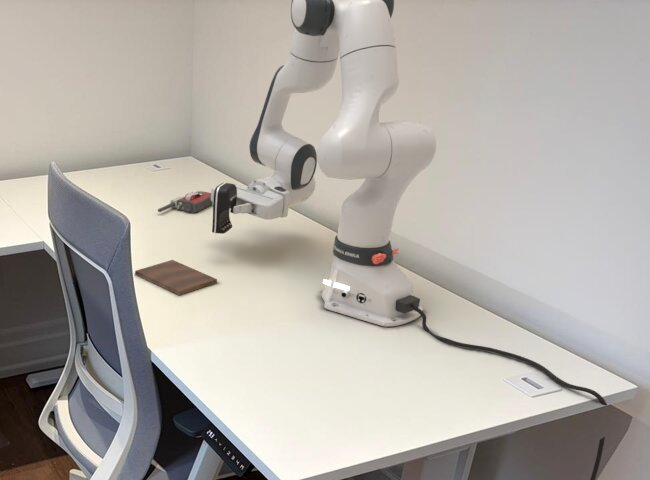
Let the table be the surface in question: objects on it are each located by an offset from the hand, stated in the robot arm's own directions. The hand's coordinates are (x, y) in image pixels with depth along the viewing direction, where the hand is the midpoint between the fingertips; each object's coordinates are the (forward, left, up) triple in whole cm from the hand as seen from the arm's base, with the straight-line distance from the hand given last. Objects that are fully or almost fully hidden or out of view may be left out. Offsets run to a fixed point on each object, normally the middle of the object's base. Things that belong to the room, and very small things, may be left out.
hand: (223, 207), depth 207 cm
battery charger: (0, 0, -6) cm, 6 cm away
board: (-2, +17, -14) cm, 22 cm away
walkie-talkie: (+36, -21, -14) cm, 44 cm away
